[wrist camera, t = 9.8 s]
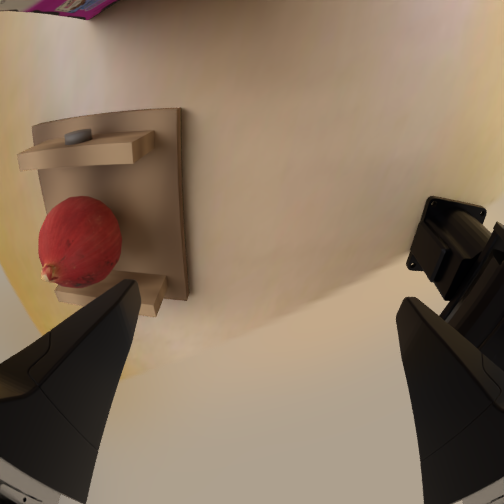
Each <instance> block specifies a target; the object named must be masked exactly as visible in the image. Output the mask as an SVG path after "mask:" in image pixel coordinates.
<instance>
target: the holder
mask: <svg viewBox="0 0 504 504" xmlns="http://www.w3.org/2000/svg"><path fill="white" fill-rule="evenodd" d="M32 133H33V142H34V146H33V147H31V148H29V149H27V150H25V151H23V152H21V153H19V154H17V157H18V163H19V169H20V171H27V170H37V169H38V175H39V180H40V185H41V190H42V195H43V200H44V204H45V209H46V213H47V215H48V213H49V212H50V211H51V210H52V208H54V207H55V206H56V205H58V204H59V203H61V202H62V201H64V200H66V199H67V198H69V197H76V196H89V197H92V198H94V199H97V200H100V201H101V202H103V203H104V204H105V205H106V206H107V207H109V208H110V209H111V211H112V212H113V214H114V215H115V217H116V219H117V220H118V224H119V228H120V231H121V236H122V247H121V255H120V258H119V261H118V262H117V264H116V265H115V267H114V268H113V269H112V271H111V272H110V274H109V275H108V276H107V277H106V278H105V279H104V280H102V281H100V282H98V283H96V284H93V285H90V286H88V287H84V288H70V287H63V286H60V285H58V286H57V287H56V289H55V290H54V291H55V294H56V296H57V299H58V301H59V302H63V303H69V304H74V305H79V306H85V305H87V304H88V303H90V302H91V301H93V300H94V299H96V298H97V297H98V296H100V295H101V294H103V293H104V292H106V291H107V290H109V289H110V288H112V287H113V286H115V285H116V284H118V283H119V282H121V281H122V280H124V279H135V280H136V281H137V282H138V286H139V291H140V295H141V307H140V311H139V315H143V316H150V317H156V316H157V313H158V311H159V308H160V305H161V303H162V300H163V298H164V299H174V300H184V301H187V299H188V296H189V284H188V273H187V261H186V248H185V233H184V216H183V195H182V167H181V108H161V109H144V110H131V111H120V112H110V113H101V114H94V115H86V116H79V117H73V118H67V119H61V120H55V121H50V122H45V123H40V124H37V125H34V126H32Z"/></svg>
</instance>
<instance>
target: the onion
mask: <svg viewBox="0 0 504 504" xmlns="http://www.w3.org/2000/svg"><path fill="white" fill-rule="evenodd" d="M121 247H122V236H121V231H120V228H119V224H118V220H117V219H116V217H115V215H114V214H113V212H112V211H111V209H110V208H109V207H107V206H106V205H105V204H104V203H103V202H101V201H100V200H97V199H94V198H92V197H89V196H76V197H69V198H67V199H66V200H64V201H62V202H61V203H59V204H58V205H56V206H55V207H54V208H52V210H51V211H50V212H49V213H48V215H47V216H46V219H45V221H44V223H43V225H42V227H41V230H40V233H39V258H40V261H41V264H42V267H43V269H42V272H41V278H42V279H43V280H44V281H46V282H54V283H57V284H59V285H60V286H63V287H70V288H84V287H88V286H90V285H93V284H96V283H98V282H100V281H102V280H104V279H105V278H106V277H107V276H108V275H109V274H110V272H111V271H112V269H113V268H114V267H115V265H116V264H117V262H118V261H119V258H120V255H121Z"/></svg>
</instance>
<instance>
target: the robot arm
mask: <svg viewBox="0 0 504 504" xmlns="http://www.w3.org/2000/svg"><path fill="white" fill-rule="evenodd" d="M433 201H434V204H433V205H431V203H432V202H433ZM481 212H482V213H481ZM480 213H481V214H480ZM486 213H487V212H486V209H485V208H484V207H482V206H478V205H474V204H470V203H465V202H460V201H456V200H451V199H446V198H441V197H436V196H430V197H429V198H428V199H427V201H426V204H425V208H424V211H423V214H422V218H421V221H420V223H419V225H418V228H417V231H416V234H415V237H414V240H413V243H412V246H411V249H410V250H411V251H410V254H409V257H408V259H407V262H406V266H407V268H408V269H409V270H412V271H424V272H425V273H426V275H427V277H428V279H429V280H430V282H434V284H435V286H436V287H437V289H438V290H439V292H440V294H441V295H442V297H443V299H444V300H445V301H450V302H449V303H448V305H447V306H446V307H445V309H444V310H443V311H442V313H441V314H440V315H439V316H438V315H437V314H436V313H435V312H433V311H432V310H431V309H430V308H429V307H427V306H426V305H424V303H422V302H421V301H420V300H419V299H417V298H416V297H405V298H404V300H403V302H402V304H401V306H400V308H399V311H398V313H397V315H396V324H397V330H398V336H399V343H400V351H401V357H402V362H403V366H404V371H405V375H406V379H407V384H408V388H409V393H410V399H411V404H412V410H413V414H414V421H415V427H416V433H417V439H418V447H419V455H420V461H421V473H422V483H423V496H424V504H454V503H456V502H458V501H461V500H462V501H463V504H504V225H502V224H501V223H499V222H496V224H495V226H494V228H493V229H494V231H493V232H492V233H490V232H489V231H488V230H487V229H486V228H485V227H484V226H483V222H484V219H485V216H486ZM412 263H413V265H411V264H412ZM140 307H141V295H140V291H139V286H138V282H137V281H136V280H135V279H124V280H122V281H121V282H119V283H118V284H116V285H115V286H113V287H112V288H110V289H109V290H107V291H106V292H104V293H103V294H101V295H100V296H98V297H97V298H96V299H94V300H93V301H91V302H90V303H88V304H87V305H85V306H84V307H83V308H81V309H80V310H78V311H77V312H75V313H74V314H73V315H71V316H70V317H68V318H67V319H66V320H64V321H63V322H61V323H60V324H59V325H57V326H56V327H54V328H53V329H52V330H51V332H50V331H49V332H47V333H46V334H45V335H43V336H42V337H41V338H39V339H38V340H36V341H35V342H33V343H32V344H31V345H29V346H27V347H26V348H24V349H23V350H21V351H20V352H18V353H17V354H15V355H13V356H12V357H10V358H9V359H7V360H5V361H4V362H2V363H1V364H0V504H58V502H59V498H60V495H61V494H62V495H64V496H66V497H68V498H71V499H73V500H75V501H78V502H80V503H83V504H86V501H87V497H88V492H89V487H90V483H91V479H92V475H93V470H94V466H95V462H96V458H97V454H98V449H99V446H100V442H101V439H102V435H103V432H104V428H105V424H106V421H107V418H108V414H109V411H110V408H111V404H112V401H113V398H114V395H115V392H116V388H117V385H118V382H119V379H120V376H121V373H122V370H123V367H124V364H125V361H126V359H127V356H128V353H129V350H130V347H131V344H132V340H133V336H134V332H135V328H136V324H137V319H138V315H139V311H140Z"/></svg>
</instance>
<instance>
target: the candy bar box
mask: <svg viewBox="0 0 504 504" xmlns="http://www.w3.org/2000/svg"><path fill="white" fill-rule="evenodd" d="M118 1H120V0H0V11H17V12H34V13H43V14H51V15H58V16H66V17H72V18H78V19H83V20H89V19H91V18H92V17H94V16H95V15H97V14H98V13H100V12H102V11H103V10H105V9H106V8H108V7H110V6H111V5H113V4H115V3H116V2H118Z"/></svg>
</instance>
